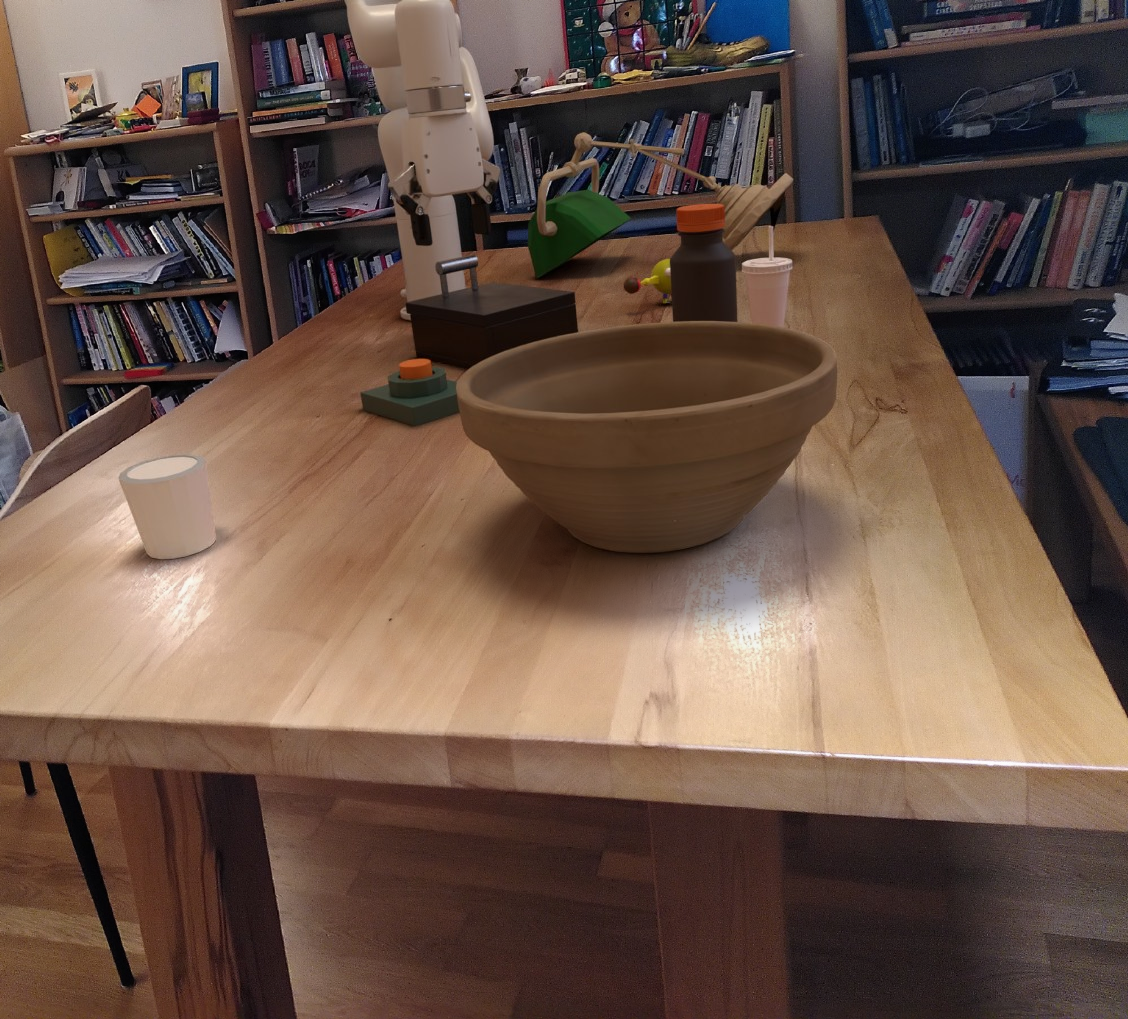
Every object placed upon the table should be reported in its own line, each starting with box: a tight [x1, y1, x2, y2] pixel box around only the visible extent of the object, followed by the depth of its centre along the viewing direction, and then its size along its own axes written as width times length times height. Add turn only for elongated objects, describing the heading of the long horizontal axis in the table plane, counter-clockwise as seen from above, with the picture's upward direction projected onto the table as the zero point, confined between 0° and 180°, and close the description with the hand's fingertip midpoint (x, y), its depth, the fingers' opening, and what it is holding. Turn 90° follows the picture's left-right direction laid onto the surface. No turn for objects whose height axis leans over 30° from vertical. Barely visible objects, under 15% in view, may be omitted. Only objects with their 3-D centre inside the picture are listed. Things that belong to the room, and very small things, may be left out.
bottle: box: [669, 203, 739, 322], centre depth 110 cm, size 7×7×20 cm
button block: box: [359, 366, 460, 427], centre depth 119 cm, size 11×9×4 cm
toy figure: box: [623, 258, 672, 306], centre depth 160 cm, size 18×6×7 cm, turn 131°
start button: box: [398, 358, 433, 380], centre depth 118 cm, size 4×4×2 cm
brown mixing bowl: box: [456, 321, 838, 554], centre depth 81 cm, size 28×28×13 cm
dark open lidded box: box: [410, 303, 579, 370], centre depth 140 cm, size 17×15×6 cm
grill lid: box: [404, 254, 576, 327], centre depth 138 cm, size 18×15×6 cm
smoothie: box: [741, 225, 793, 328], centre depth 133 cm, size 6×6×14 cm
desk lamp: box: [527, 132, 794, 279], centre depth 191 cm, size 35×42×39 cm
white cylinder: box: [117, 453, 217, 560], centre depth 86 cm, size 7×7×7 cm
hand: (454, 239), depth 140 cm, fingers open, 9 cm apart
